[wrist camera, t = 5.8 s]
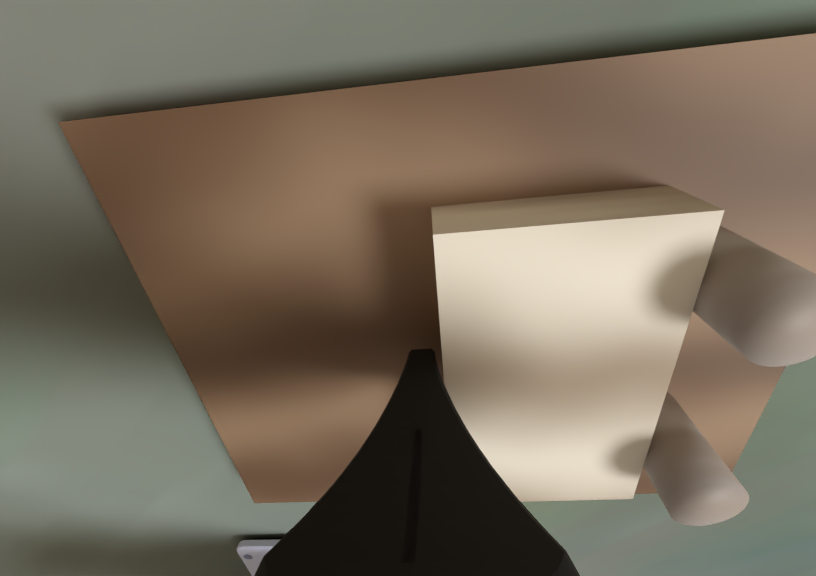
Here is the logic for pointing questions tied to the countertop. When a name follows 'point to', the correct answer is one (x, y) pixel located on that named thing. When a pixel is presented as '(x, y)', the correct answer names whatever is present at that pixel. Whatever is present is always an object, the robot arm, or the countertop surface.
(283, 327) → the board
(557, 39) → the countertop surface
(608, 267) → the birch plate
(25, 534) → the countertop surface
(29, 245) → the countertop surface
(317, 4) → the countertop surface
